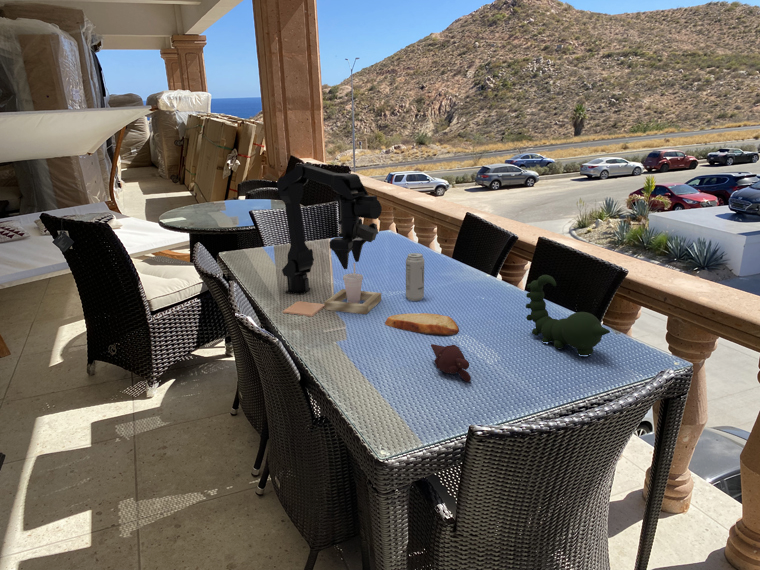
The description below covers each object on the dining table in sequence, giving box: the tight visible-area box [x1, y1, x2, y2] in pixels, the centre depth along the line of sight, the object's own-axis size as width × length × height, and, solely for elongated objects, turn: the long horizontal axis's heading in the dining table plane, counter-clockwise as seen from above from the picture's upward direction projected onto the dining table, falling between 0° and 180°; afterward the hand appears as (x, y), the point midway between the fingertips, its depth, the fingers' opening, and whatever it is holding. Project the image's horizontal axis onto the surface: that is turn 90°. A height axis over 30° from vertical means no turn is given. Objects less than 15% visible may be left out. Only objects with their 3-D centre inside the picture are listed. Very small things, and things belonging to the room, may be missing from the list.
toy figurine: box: [525, 274, 611, 355], centre depth 135 cm, size 9×19×25 cm
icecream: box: [430, 343, 472, 383], centre depth 124 cm, size 7×7×15 cm
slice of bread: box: [384, 312, 460, 336], centre depth 152 cm, size 18×18×4 cm
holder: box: [323, 288, 382, 315], centre depth 170 cm, size 14×14×2 cm
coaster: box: [282, 300, 325, 318], centre depth 167 cm, size 10×10×1 cm
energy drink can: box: [405, 252, 425, 302], centre depth 174 cm, size 6×6×15 cm
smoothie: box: [342, 262, 364, 304], centre depth 169 cm, size 6×6×14 cm
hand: (351, 265), depth 167 cm, fingers open, 9 cm apart
